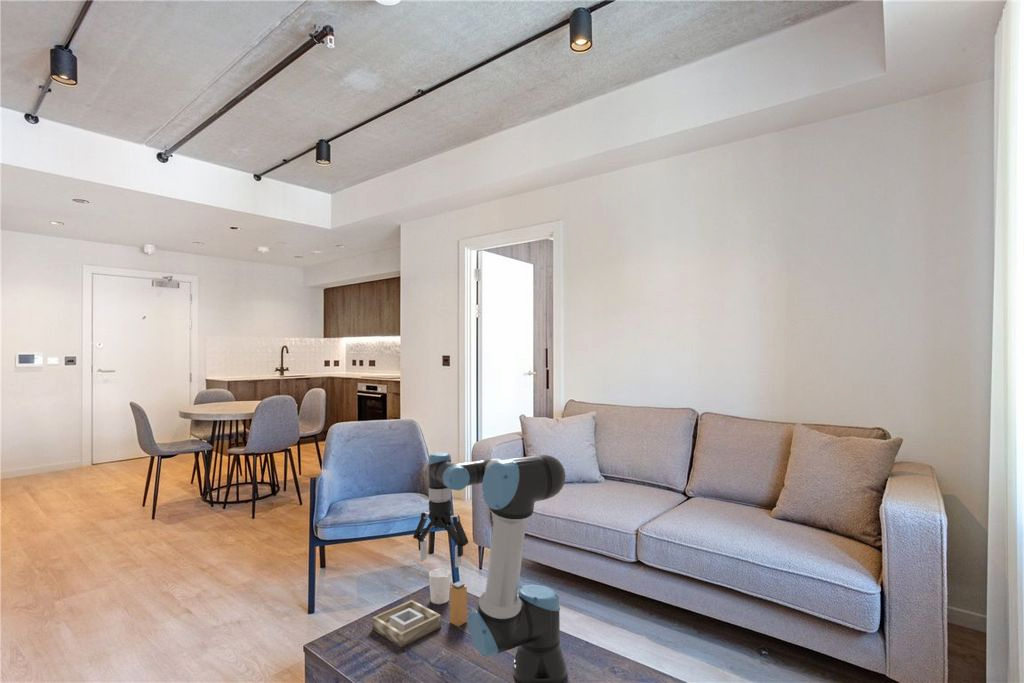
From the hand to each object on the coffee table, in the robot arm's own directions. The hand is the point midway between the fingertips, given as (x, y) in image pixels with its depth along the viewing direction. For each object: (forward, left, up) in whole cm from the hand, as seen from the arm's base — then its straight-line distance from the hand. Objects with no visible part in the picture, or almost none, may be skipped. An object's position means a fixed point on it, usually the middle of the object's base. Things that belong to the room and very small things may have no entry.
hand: (440, 563), depth 172 cm
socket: (+7, +9, -21) cm, 23 cm away
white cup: (+14, -11, -21) cm, 27 cm away
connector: (-3, -5, -21) cm, 21 cm away
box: (+7, +9, -21) cm, 23 cm away
